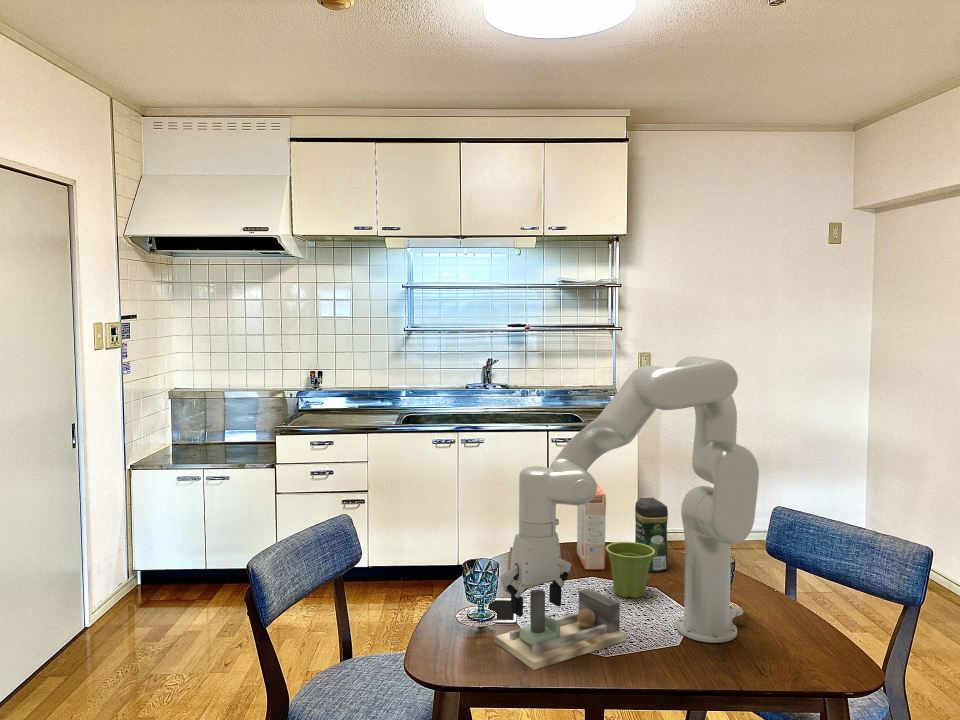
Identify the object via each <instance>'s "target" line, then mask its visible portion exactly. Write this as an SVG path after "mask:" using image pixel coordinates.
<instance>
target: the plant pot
mask: <svg viewBox="0 0 960 720" xmlns="http://www.w3.org/2000/svg"><path fill="white" fill-rule="evenodd" d="M605 551H607V553H608V559H609V562H610V569H611V575H612V581H613V591H614V593H615V595H617V596H619V597H622V598H631V599H638V598H641V597H643V596H644V595H645V591H646V588H647V581H648V575H649V572H650V571H649V566H650V563H651V560H652V555H653V554H654V553H655V550H654V549H653V548H652V547H650V546H648V545H645V544H641V543H635V542H632V541H619V542H618V541H617V542H612V543H609V544H607V545H605Z"/></svg>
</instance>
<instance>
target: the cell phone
mask: <svg viewBox="0 0 960 720" xmlns="http://www.w3.org/2000/svg"><path fill="white" fill-rule="evenodd" d="M487 608H488V609H490V610H493V611H495V612H496V613H497V619H495V620H496V621H494V622H492V623H496V624H516V623H517V624H518V615H516V614H514V613H513V612H512V610H511V596H510V597H507V596H506V597H505V596H504V597H501V596H499V597H498V596H496V599H495V601H494V602H492V603H490V604H488V605H487ZM517 624H516V625H517Z"/></svg>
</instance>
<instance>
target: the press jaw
mask: <svg viewBox="0 0 960 720" xmlns="http://www.w3.org/2000/svg"><path fill="white" fill-rule="evenodd" d="M529 593H530V596H529V597H530V600H529V601H530V607H529V608H530V611H529V612H530V614H529V615H530V617H529V618H530V621H529V622H530V624H528V625H527V624H526V625H524V626H520V627H519V629H520V638H521V639H522V640H524V641H525V642H527V643H528V644H530V645H531V646H533V645H536V644H540V643H543V642H546V641H550V640H553V639H556V638H560V622H558V621H556V620H554V619H555V618H552V617H551V616H549V615H548V614H546V592H545V590H543V589H532V590H531V591H530V592H529Z"/></svg>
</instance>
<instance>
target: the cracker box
mask: <svg viewBox="0 0 960 720" xmlns="http://www.w3.org/2000/svg"><path fill="white" fill-rule="evenodd" d="M596 484H597V492H596V495H595V497H594V498H593V499H592V500H591V501H590V502H589V503H587V504H584V505H578V506H577V512H576V513H577V515H576V516H577V518H576V519H577V525H576V526H577V527H576V528H577V529H576V531H577V532H576V533H577V534H576V539H577V540H576V554H577V556H578V558H579V560H580V563H581V564H582V567H583V568H584V570H586V571H588V570H591V571H592V570H597V571H600V570H601V571H602V570H605V569H606V516H607V515H606V511H607V509H606V508H607V503H606V502H607V495H606V493H605V492H604V490H603V489H602V488H601V487H600V485H599V484H598V483H597V482H596Z"/></svg>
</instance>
